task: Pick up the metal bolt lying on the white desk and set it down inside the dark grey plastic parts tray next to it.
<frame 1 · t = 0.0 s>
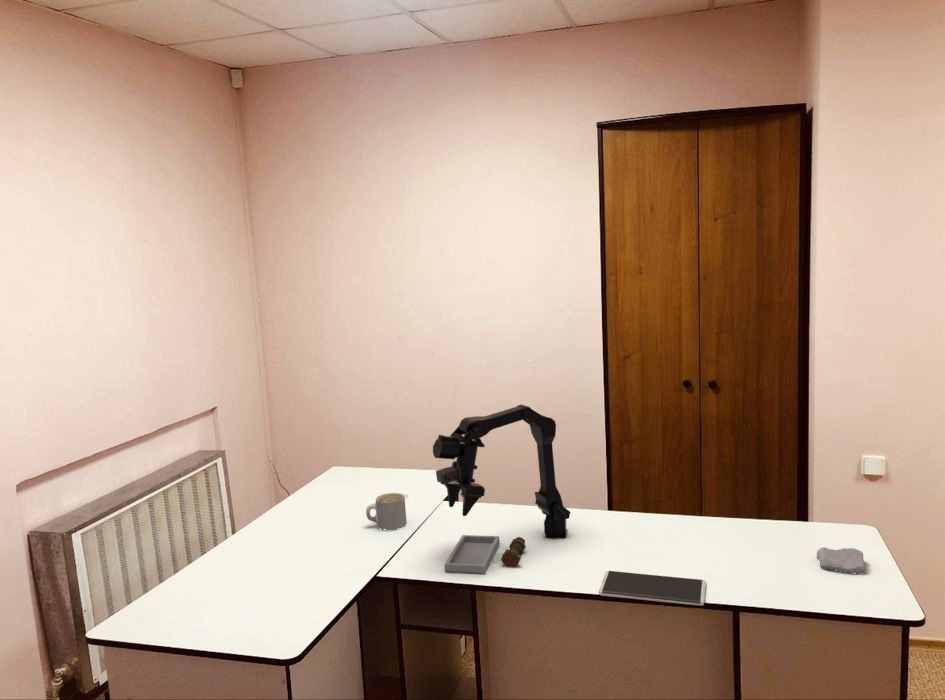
hand: (457, 511, 223), 15 cm above the table, tool pointing down, fingers open, 9 cm apart
parts tray: (473, 557, 226), on the table
bolt: (516, 558, 225), on the table
stone block: (841, 568, 206), on the table
coffee mug: (387, 526, 257), on the table
smartphone: (652, 591, 200), on the table
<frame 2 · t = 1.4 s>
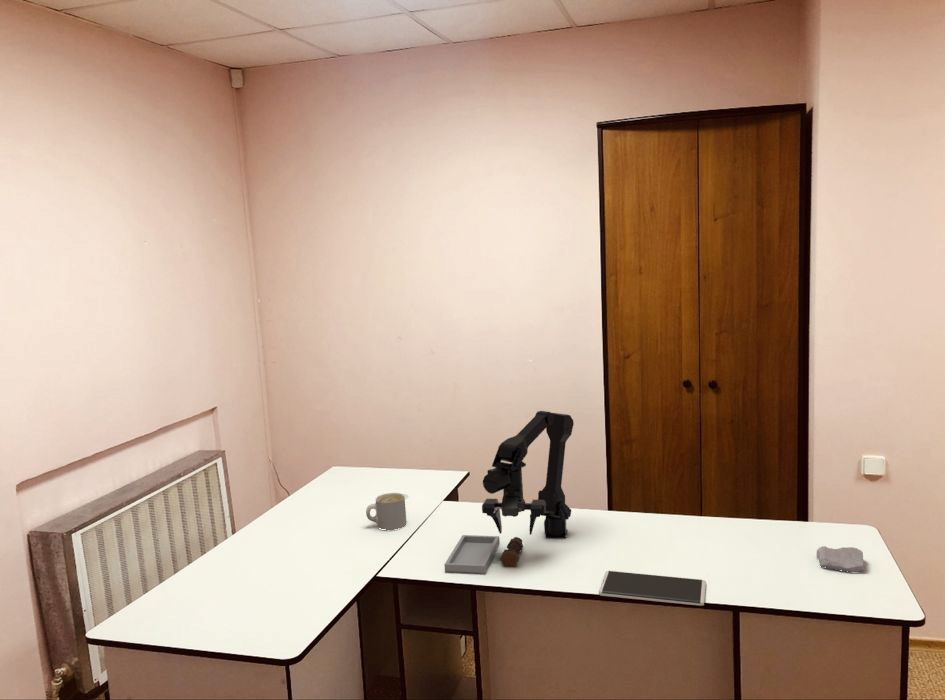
hand: (515, 533, 224), 7 cm above the table, tool pointing down, fingers open, 9 cm apart
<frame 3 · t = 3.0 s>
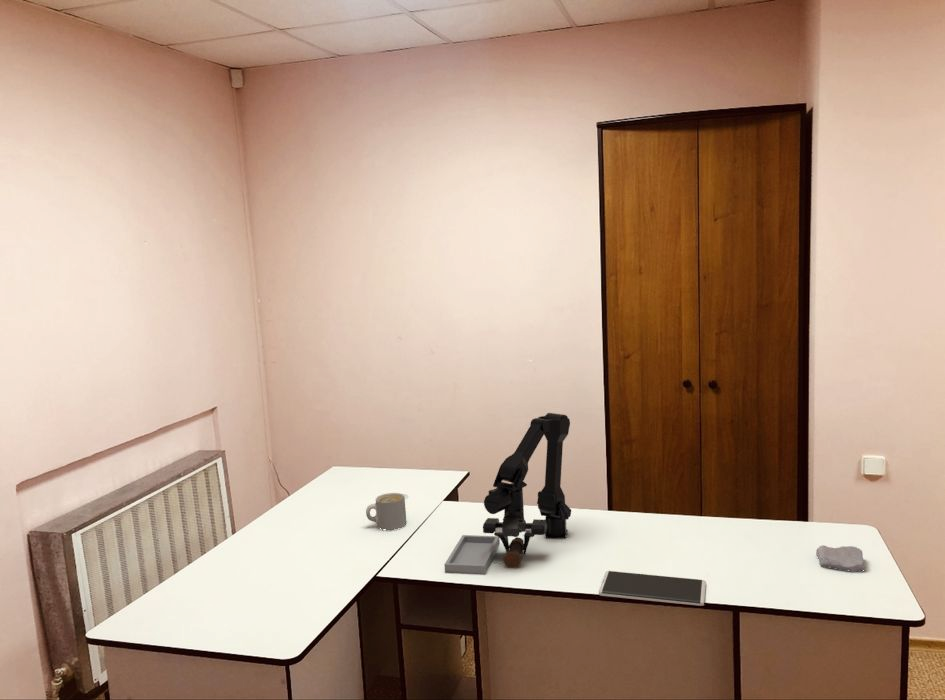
hand: (516, 553, 225), 1 cm above the table, tool pointing down, fingers closed on bolt, 5 cm apart
bolt: (516, 558, 225), on the table, touching gripper
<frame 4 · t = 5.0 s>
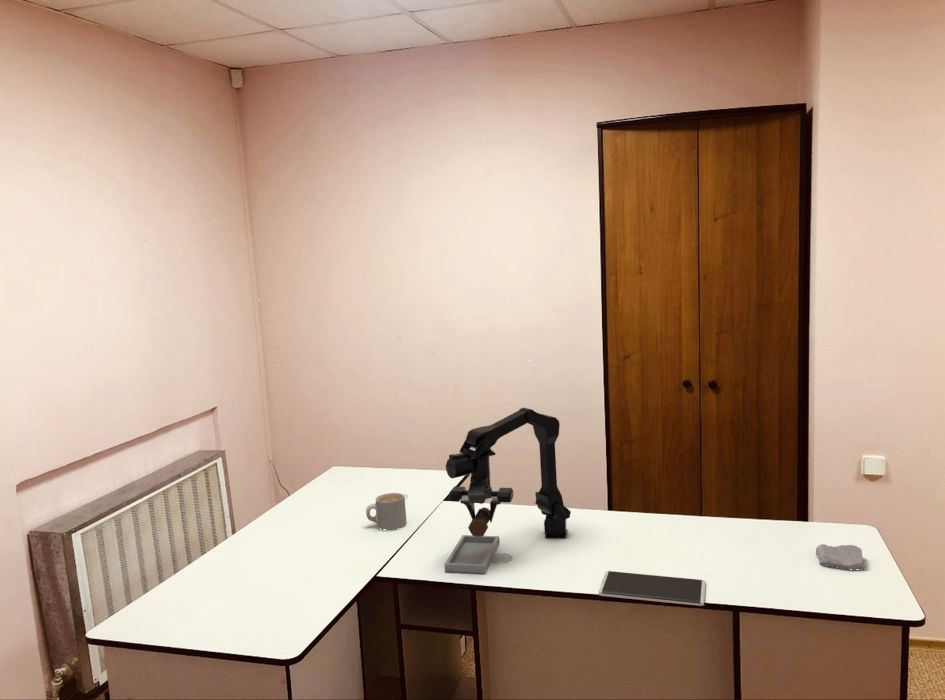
hand: (482, 521, 224), 11 cm above the table, tool pointing down, fingers closed on bolt, 5 cm apart
bolt: (482, 527, 224), point 10 cm above the table, touching gripper
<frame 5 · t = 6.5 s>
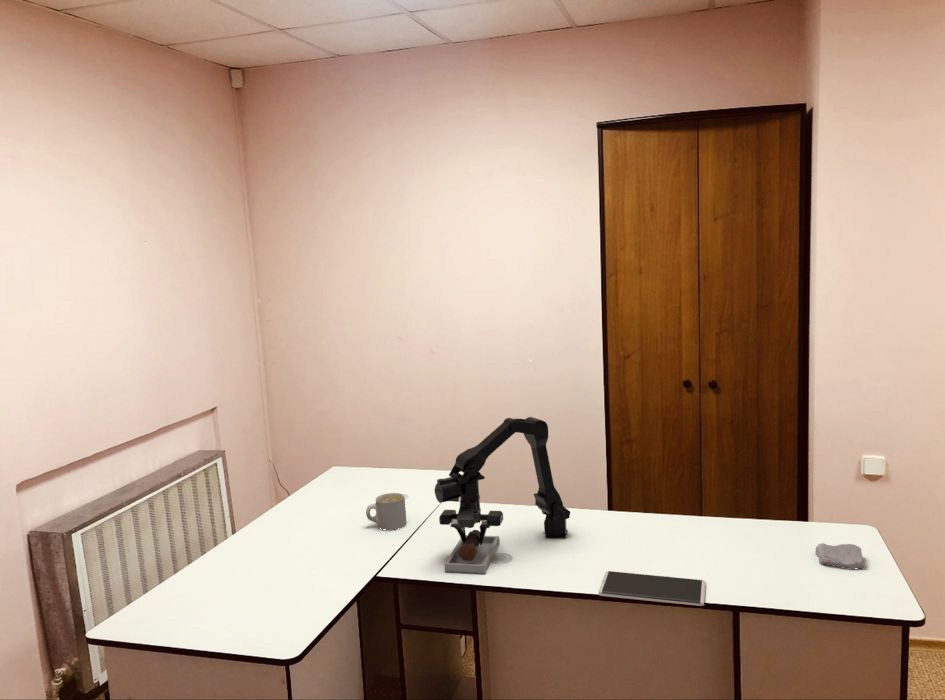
hand: (473, 544, 226), 4 cm above the table, tool pointing down, fingers closed on bolt, 5 cm apart
bolt: (472, 550, 226), point 2 cm above the table, touching gripper
when the fingers open (3 cm above the table, at t = 7.4 s): bolt drops 1 cm, resting on parts tray.
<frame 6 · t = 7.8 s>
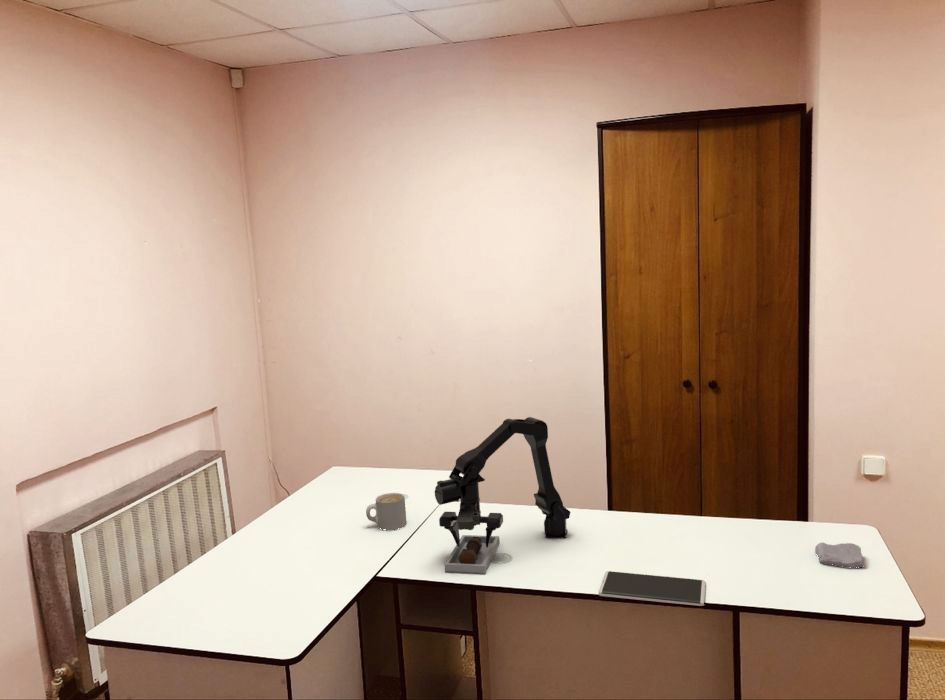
hand: (472, 546, 226), 3 cm above the table, tool pointing down, fingers open, 9 cm apart
bolt: (473, 557, 226), resting on parts tray
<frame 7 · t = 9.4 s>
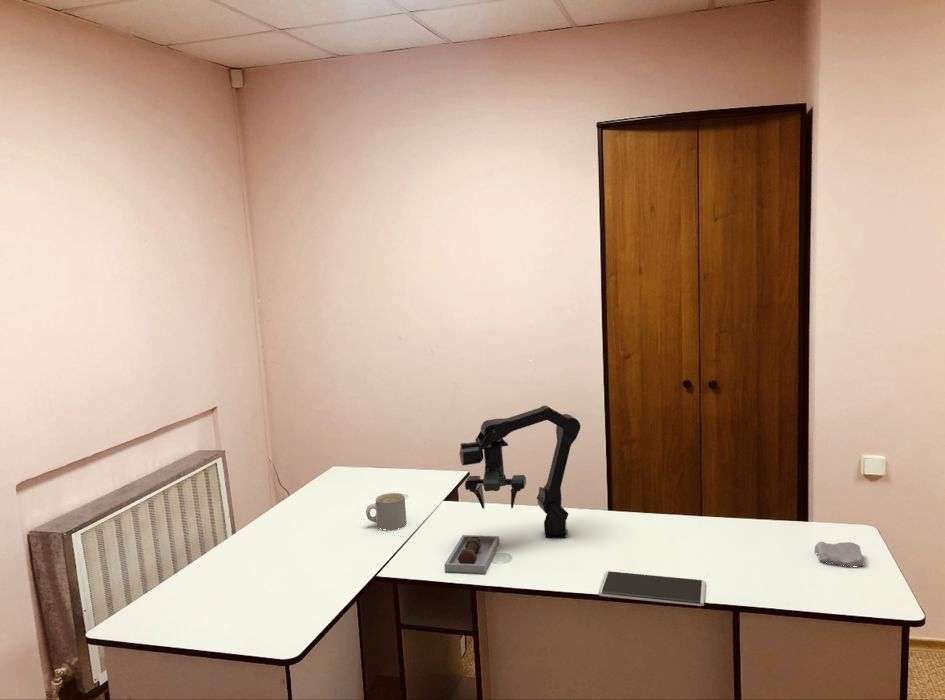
hand: (497, 508, 235), 11 cm above the table, tool pointing down, fingers open, 9 cm apart
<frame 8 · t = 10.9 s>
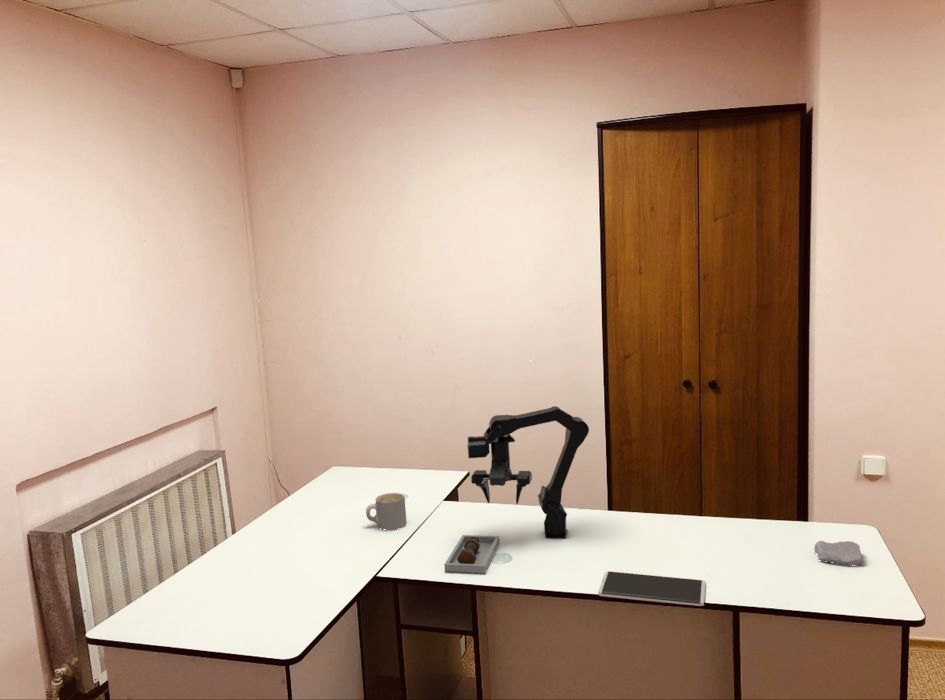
hand: (503, 503, 238), 12 cm above the table, tool pointing down, fingers open, 9 cm apart
at the end: bolt inside the target area on the parts tray (0.9 cm from its centre), point 0.3 cm above the parts tray's base; the gripper is holding nothing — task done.
